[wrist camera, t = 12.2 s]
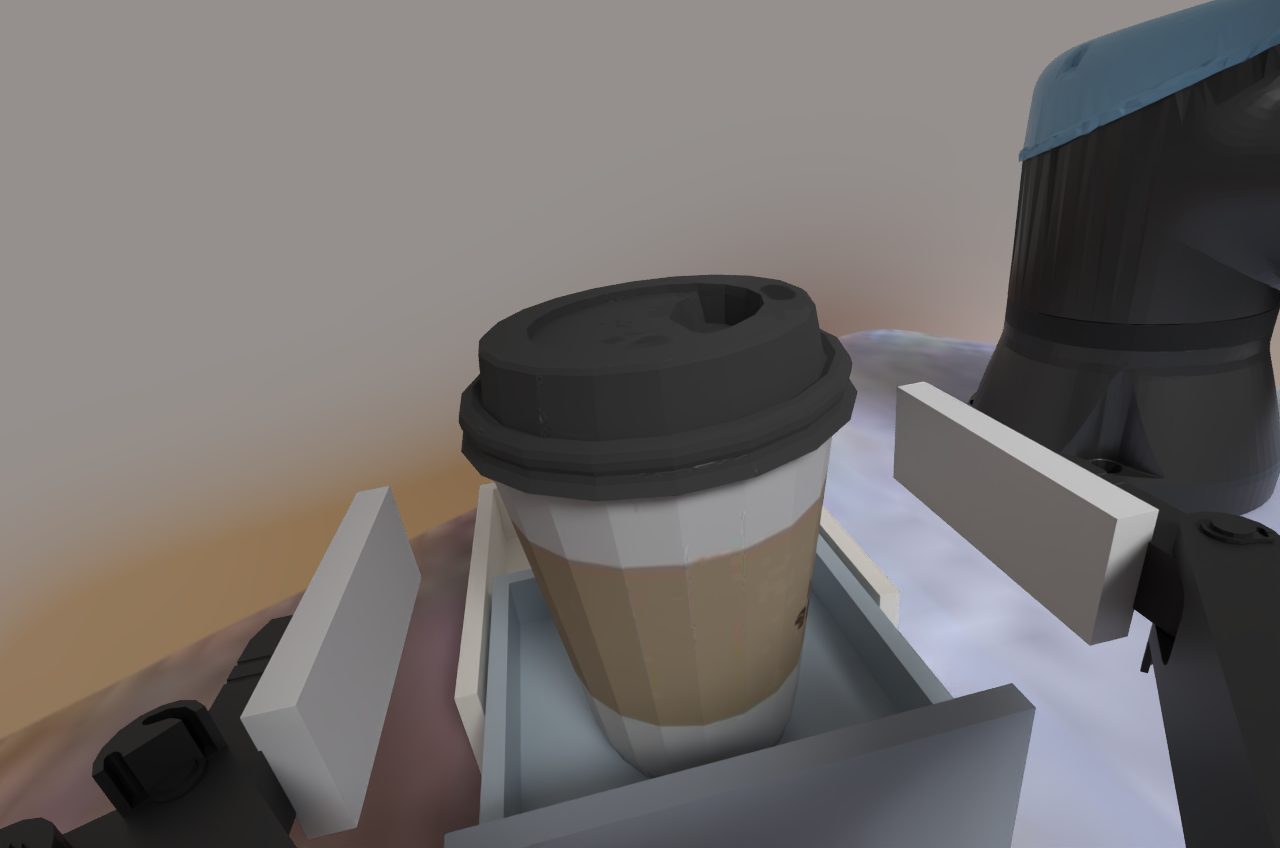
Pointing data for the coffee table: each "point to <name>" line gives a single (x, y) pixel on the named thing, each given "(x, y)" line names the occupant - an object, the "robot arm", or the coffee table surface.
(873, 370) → the coffee table surface
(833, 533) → the box
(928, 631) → the coffee table surface
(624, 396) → the coffee cup
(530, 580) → the tray
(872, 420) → the coffee table surface
